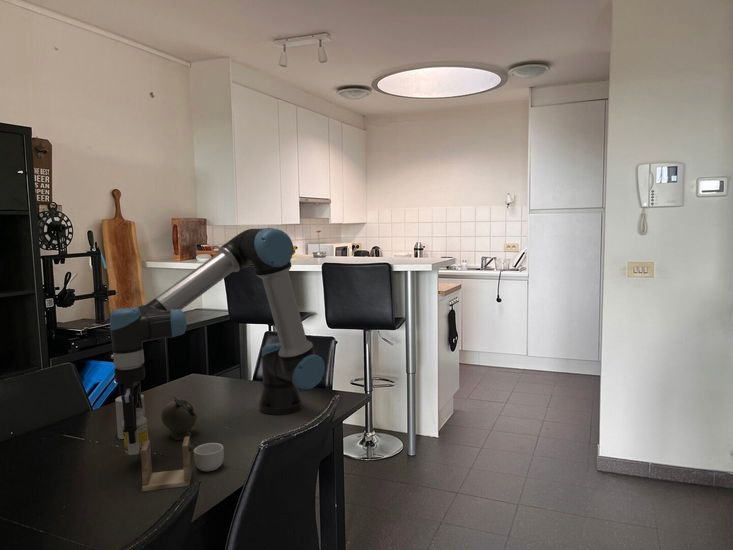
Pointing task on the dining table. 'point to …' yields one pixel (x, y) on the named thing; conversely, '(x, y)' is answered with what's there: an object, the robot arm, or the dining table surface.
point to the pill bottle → (141, 427)
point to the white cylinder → (120, 415)
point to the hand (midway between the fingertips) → (136, 448)
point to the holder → (167, 477)
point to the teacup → (209, 456)
